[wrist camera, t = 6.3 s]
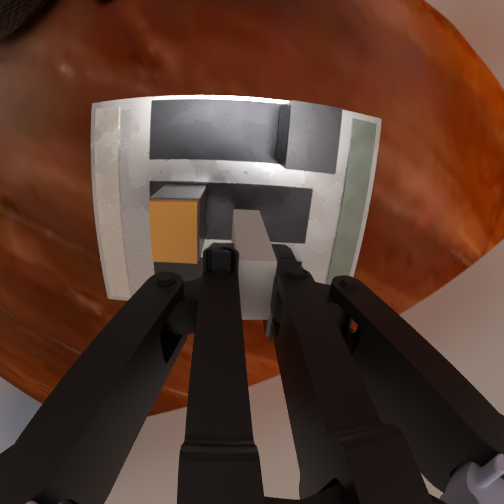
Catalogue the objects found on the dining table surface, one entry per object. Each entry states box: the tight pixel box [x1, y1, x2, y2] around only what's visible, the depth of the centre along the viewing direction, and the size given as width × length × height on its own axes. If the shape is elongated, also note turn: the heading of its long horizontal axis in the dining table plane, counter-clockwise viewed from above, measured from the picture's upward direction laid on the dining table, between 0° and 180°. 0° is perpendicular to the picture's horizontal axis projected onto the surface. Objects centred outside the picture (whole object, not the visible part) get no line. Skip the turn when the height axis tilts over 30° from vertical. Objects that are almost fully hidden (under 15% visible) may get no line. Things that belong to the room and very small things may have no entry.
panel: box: [91, 95, 382, 336], centre depth 19 cm, size 22×17×6 cm
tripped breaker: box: [149, 184, 207, 264], centre depth 18 cm, size 3×4×4 cm
